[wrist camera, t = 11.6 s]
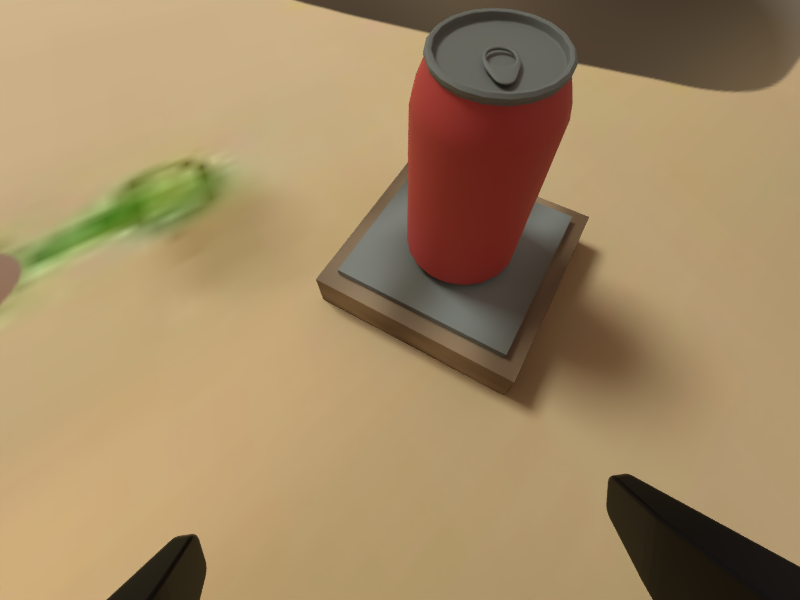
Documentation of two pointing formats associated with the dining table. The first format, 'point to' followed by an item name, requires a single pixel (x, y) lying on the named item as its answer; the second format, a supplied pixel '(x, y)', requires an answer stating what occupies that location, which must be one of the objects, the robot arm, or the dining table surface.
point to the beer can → (483, 137)
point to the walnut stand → (453, 289)
